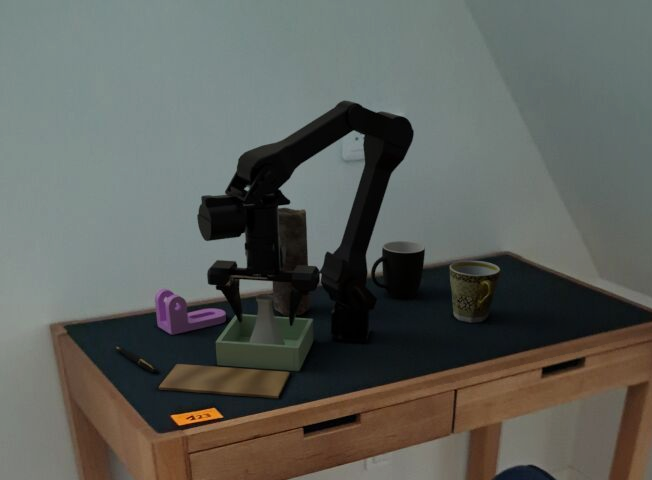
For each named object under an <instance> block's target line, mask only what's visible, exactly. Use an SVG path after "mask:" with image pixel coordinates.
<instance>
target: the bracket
mask: <svg viewBox="0 0 652 480" xmlns="http://www.w3.org/2000/svg"><path fill="white" fill-rule="evenodd" d="M154 306H155V313H156V314H155V316H156V321H157V322H156V323H157V328H159V329H162V330H163V331H165V332H166V333H167V334H169V335H171V336H173V335H177V334H182V333H186V332H190V331H195V330H200V329H204V328H208V327H214V326H217V325H221V324H224V323H226V321H227V317H226V316H227V315H226V314H227V313H226V311H225V310H223V309H221V308H212V307H211V308H203V309H199V310H194V311H191V312H188V304H187V301H186V299H185V298H183V297H182V296H181V295H179V294H175V293H174V292H173V291H171V290H169V289H168V288H161V289H158V291H157V292H156V293H155V296H154Z"/></svg>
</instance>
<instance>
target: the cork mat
mask: <svg viewBox="0 0 652 480" xmlns="http://www.w3.org/2000/svg"><path fill="white" fill-rule="evenodd" d="M290 375H291V373H290V371H284V370H270V369H256V368H242V367H228V366H212V365H198V364H185V363H176V364H175V365H174V367H173V368H172V369H171V371H170V372H168V374H167V375H166V377H165V378H164V379H163V381H162V382H161V383H160V385H159V386H158V390H159V391H172V392H174V391H175V392H183V393H184V392H186V393H198V394H212V395H214V394H215V395H224V396H225V395H226V396H238V397H252V398H266V399H279V398H280V395H281V393H282V391H283V389H284V387H285V385H286V383H287V381H288V379H289V377H290Z"/></svg>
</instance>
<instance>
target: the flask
mask: <svg viewBox="0 0 652 480" xmlns="http://www.w3.org/2000/svg"><path fill="white" fill-rule="evenodd" d="M255 301H256V303H257V314H256V315H257V319H256V322H255V326H254V329H253V333H252V336H251V339H250V342H249V343H260V344H274V345H285V343H284V340H283V338H282V336H281V333H280V331H279V328H278V325H277V323H276V320H275V317H274V316H275V313H274V309H273V302H274V298H273V294H269V293H268V294H267V293H265V294H264V293H263V294H262V293H261V294H258V295H256V296H255Z"/></svg>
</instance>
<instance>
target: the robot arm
mask: <svg viewBox="0 0 652 480" xmlns="http://www.w3.org/2000/svg"><path fill="white" fill-rule="evenodd" d="M412 125H413V124H412V122H411V121H410V120H409V119H408V118H407V117H405V116H402V115H398V114H394V113H391V112H388V111H382V110H381V111H377V112H376V111H374V110H371V109H369V108H366V107H364V106H363V105H362V104H360V103H358V102H353V101H350V100H346V99H345V100H341V101H339V102H338V103H337V104H335V106H334V107H332V108H331V109H330V110H328V111H326V112H324V113H323V114H322V115H320V116H318V117H317V118H315V119H314V120H312V121H311V122H309V123H307V124H306V125H304V126H302V127H301V128H299V129H298V130H296V131H294V132H293V133H291V134H290V135H288V136H287V137H284V138H283V139H281V140H279V141H275V142H273V143H268V144H263V145H259V146H257V147H254V148H252V149H249V150H247V151H245V152H243V153H242V154H241V155H240V156H239V157H238V159H237V166H236V170H235V173H234V174H233V176H232V178H231V180H230V182H229V183H228V185H227V187H226V189H225V191H224V194H219V195H211V194H207V195H202V196H201V197H200V200H201V203H200V205H199V207H198V213H197V217H196V219H197V225H198V229H199V233H200V235H201V237H202V239H203V240H204V242H205V241H206V242H211V241H220V240H226V239H227V240H229V239H235V238H240V237H241V236H242V235H243V234H244V238H245V239H244V240H245V242H244V250H245V251H244V254H245V257H246V267H238V263H237V261H236V260H223V259H216V260H215V262H214V263H213V264H212V265H211V266H210V267H209V268H208V269H207V272H206V280H207V284H208V285H209V286H215V290H217V291H220V292H221V293H222V295H223V297H224V298H225V299H226V301H227V302H228V304H229V305H230V307H231V309H232V311H233V313H234V316H235V315H236V317H237V319H238V321H239V322H240V323H241V322H242V321H243V314H244V312H243V306H242V305H243V304H242V298H241V293H240V282H241V281H240V280H245V281H262V282H272V281H275V282H291V283H292V286H293V289H292V290H291V292H290V311H289V316H288V317H289V322H290V326H292V325H293V323H294V320H295V318H296V316H297V315H296V313H297V310H298V306H299V303H300V300H301V298H302V296H306V295H308V293H309V294H310V292H314V291H316V289H317V288H318V286H319V284H321V286H322V288H323V290H324V291H325V292H326V293H327V294H328V296H329V297H328V298H329V299H330V300H331V301H333V302H335V304H334V306H333V309H332V311H331V313H330V315H331V316H330V320H331V321H330V324H331V325H330V331H331V332H330V333H331V335H332V337H331V338H332V339H331V340H332V341H334V342H350V343H361V344H362V343H363V344H364V343H367V342H368V338H369V336H370V332H371V328H370V311H373V310H375V307H376V304H377V301H378V298H377V296H376V295H375V294H373V292H372V291H370V289H368V288H367V287H366V285H367V281H368V280H367V279H368V275H369V273H368V271H369V270H368V263H367V253H368V249H369V246H370V242H371V240H372V236H373V233H374V230H375V226H376V223H377V220H378V217H379V214H380V211H381V208H382V204H383V201H384V198H385V195H386V192H387V189H388V186H389V184H390V183H389V182H390V179H391V176H392V174H393V173H394V171H395V170H396V169H397V168H398V167H399V166H400V164H401V163H402V162H403V161H404V160H405V157H406V156H407V154H408V152H409V149H410V147H411V146H412V143H413V141H414V136H415V129H413V126H412ZM353 131H354V132H356V133H358V134H361V135H364V137H363V143H362V147H363V157H364V165H363V169H362V173H361V176H360V180H359V182H358V186H357V188H356V189H357V190H356V192H355V196H354V200H353V203H352V206H351V209H350V212H349V215H348V219H347V222H346V224H345V225H346V226H345V229H344V233H343V236H342V238H341V242H340V245H339V246H338V248H337V249H336V250H334V251H333V253H332V252H330V251H326V252H325V255H324V259H323V264H322V267H321V268H320V269H319V268H318V266H317V265H308V266H306V265H297V266H296V268H295V269H294V271H284V270H280V268H283V266H284V265H285V260H286V247H285V246H282V245H281V244H280V236H279V214H278V208H279V207H280V206H289V205H290V204H291V200H290V199H289V198H288V197H286V195H285V194H283V192H282V190H281V189H280V188H281V187H283V186H284V185H285V184H286V183H287V182H288V181H289V180H290V179H291V177H292V175H293V173H295V170H296V169H297V168H298V167H300V166H301V165H302V164H303V163H305V162H306V161H308V160H309V159H311V158H313V157H314V156H316V155H318V154H319V153H321V152H323V151H324V150H325V149H327V148H328V147H330V146H332V145H333V144H335V143H336V142H338V141H339V140H341V139H343V138H344V137H346V136H347V135H349V134H350V133H352V132H353ZM246 188H248V190H246ZM274 275H275V276H274Z"/></svg>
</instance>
